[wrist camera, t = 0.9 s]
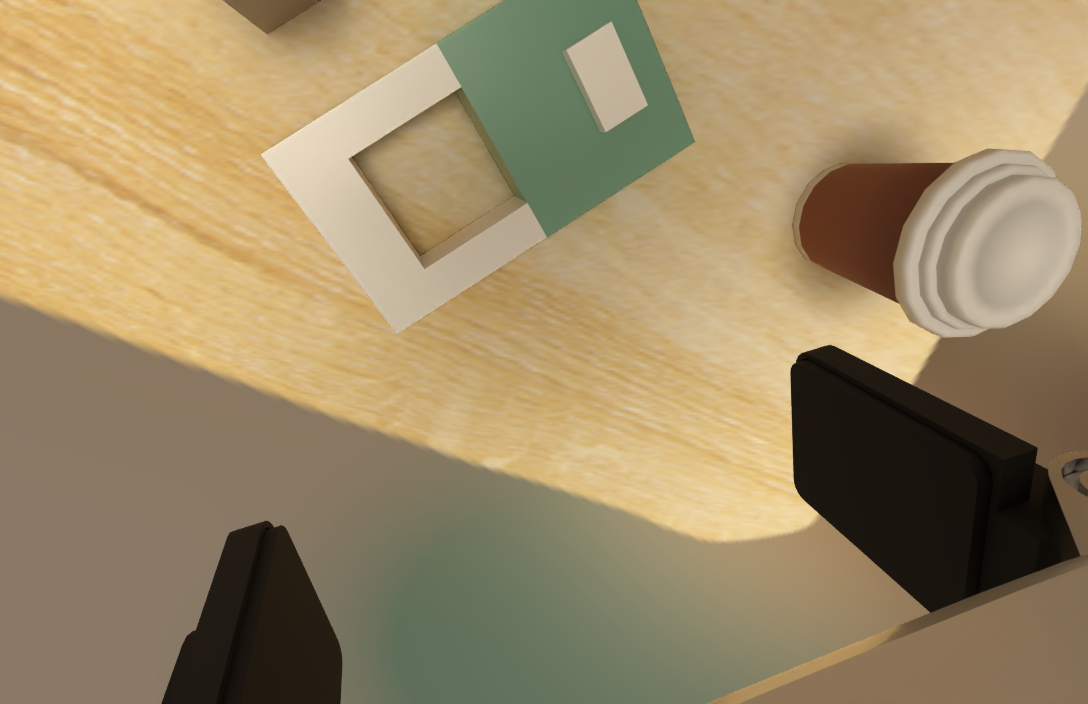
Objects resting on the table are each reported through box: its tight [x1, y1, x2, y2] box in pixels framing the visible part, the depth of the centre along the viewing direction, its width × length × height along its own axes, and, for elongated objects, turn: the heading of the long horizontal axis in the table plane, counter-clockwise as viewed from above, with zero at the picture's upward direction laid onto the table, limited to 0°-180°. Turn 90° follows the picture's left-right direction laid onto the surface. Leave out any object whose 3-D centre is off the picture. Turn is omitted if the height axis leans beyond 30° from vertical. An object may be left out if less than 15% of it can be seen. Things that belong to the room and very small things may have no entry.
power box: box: [261, 0, 695, 334], centre depth 30 cm, size 18×10×4 cm, turn 120°
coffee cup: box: [792, 149, 1082, 337], centre depth 33 cm, size 9×9×12 cm
